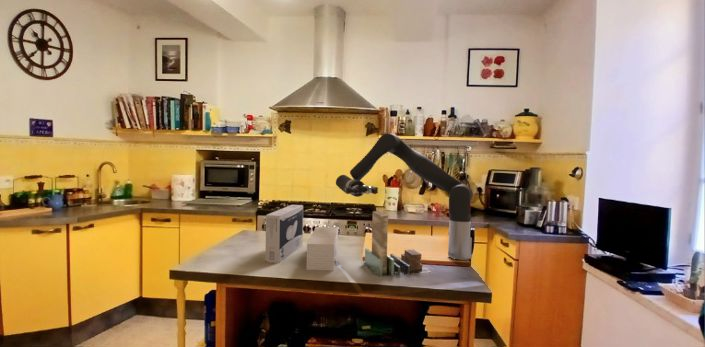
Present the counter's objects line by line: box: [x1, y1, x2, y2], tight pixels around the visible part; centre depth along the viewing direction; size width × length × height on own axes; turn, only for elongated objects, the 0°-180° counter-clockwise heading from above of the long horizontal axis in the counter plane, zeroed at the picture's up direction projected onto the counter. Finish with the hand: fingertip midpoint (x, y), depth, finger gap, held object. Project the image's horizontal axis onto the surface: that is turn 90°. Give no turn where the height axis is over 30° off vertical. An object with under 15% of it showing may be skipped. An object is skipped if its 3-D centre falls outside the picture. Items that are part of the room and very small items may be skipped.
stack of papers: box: [306, 226, 339, 271], centre depth 163 cm, size 32×11×11 cm, turn 179°
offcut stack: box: [400, 249, 423, 270], centre depth 149 cm, size 5×9×6 cm, turn 17°
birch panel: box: [371, 210, 389, 273], centre depth 145 cm, size 2×10×22 cm, turn 17°
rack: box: [363, 247, 433, 277], centre depth 148 cm, size 22×17×8 cm
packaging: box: [264, 204, 304, 264], centre depth 170 cm, size 30×6×20 cm, turn 168°
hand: (366, 191), depth 160 cm, fingers open, 8 cm apart
